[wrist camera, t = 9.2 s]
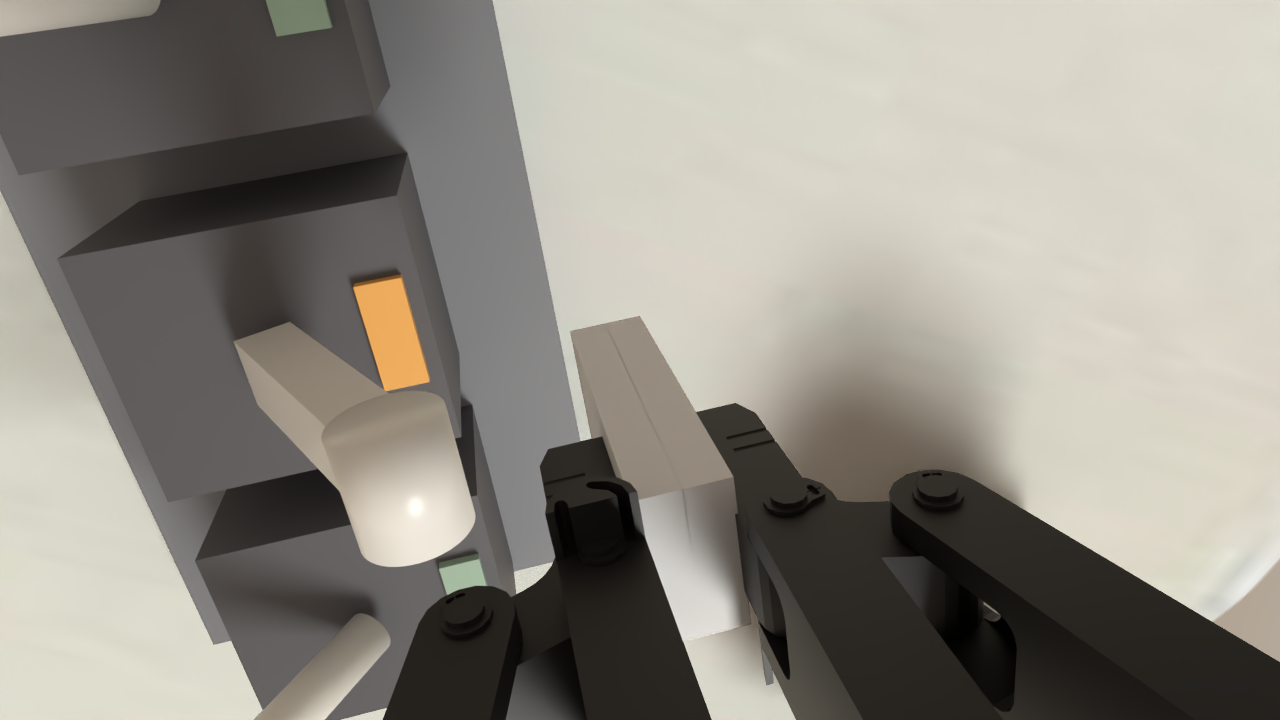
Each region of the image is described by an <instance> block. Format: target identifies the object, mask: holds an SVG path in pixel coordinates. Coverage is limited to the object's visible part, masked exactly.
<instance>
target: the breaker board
mask: <svg viewBox="0 0 1280 720" xmlns="http://www.w3.org/2000/svg"><path fill="white" fill-rule="evenodd" d="M0 190H1V193H2V195H3V197H4V199H5V201H6V203H7V205H8V207H9V210H10V212H11V214H12V216H13V218H14V220H15V222H16V224H17V227H18V229H19V231H20V233H21V235H22V237H23V239H24V242H25V244H26V246H27V248H28V250H29V252H30V254H31V256H32V259H33V261H34V263H35V265H36V267H37V269H38V271H39V273H40V276H41V278H42V280H43V282H44V284H45V286H46V288H47V291H48V293H49V295H50V297H51V299H52V301H53V303H54V305H55V308H56V310H57V312H58V314H59V316H60V318H61V320H62V322H63V325H64V327H65V329H66V331H67V333H68V335H69V337H70V340H71V342H72V344H73V346H74V348H75V350H76V352H77V354H78V357H79V359H80V361H81V363H82V365H83V367H84V369H85V372H86V374H87V376H88V378H89V380H90V382H91V384H92V386H93V389H94V391H95V393H96V395H97V397H98V399H99V401H100V403H101V406H102V408H103V410H104V412H105V414H106V416H107V418H108V421H109V423H110V425H111V427H112V429H113V431H114V433H115V435H116V438H117V440H118V442H119V444H120V446H121V448H122V450H123V452H124V455H125V457H126V459H127V461H128V463H129V465H130V467H131V470H132V472H133V474H134V476H135V478H136V480H137V482H138V484H139V487H140V489H141V491H142V493H143V495H144V497H145V499H146V501H147V504H148V506H149V508H150V510H151V512H152V514H153V516H154V519H155V521H156V523H157V525H158V527H159V529H160V531H161V533H162V536H163V538H164V540H165V542H166V544H167V546H168V548H169V550H170V553H171V555H172V557H173V559H174V561H175V563H176V565H177V568H178V570H179V572H180V574H181V576H182V578H183V580H184V582H185V585H186V587H187V589H188V591H189V593H190V595H191V597H192V599H193V602H194V604H195V606H196V608H197V610H198V612H199V614H200V617H201V619H202V621H203V623H204V625H205V627H206V629H207V631H208V634H209V636H210V638H211V640H212V642H213V644H219V643H223V642H227V641H232V643H233V646H234V648H235V650H236V652H237V654H238V656H239V659H240V661H241V663H242V665H243V667H244V670H245V672H246V674H247V676H248V678H249V681H250V683H251V685H252V687H253V689H254V692H255V694H256V696H257V698H258V700H259V702H260V705H261V707H262V709H263V711H262V712H261V713H260V714H259V715H258V716H257V717H256V718H255V719H254V720H341V719H345V718H349V717H353V716H357V715H360V714H364V713H368V712H372V711H376V710H380V709H384V708H387V707H388V705H389V702H390V699H391V696H392V694H393V691H394V688H395V686H396V683H397V680H398V678H399V675H400V672H401V670H402V667H403V664H404V662H405V659H406V656H407V654H408V651H409V648H410V645H411V643H412V640H413V637H414V635H415V632H416V629H417V627H418V624H419V622H420V620H421V619H422V617H423V616H424V614H425V612H426V611H427V610H428V609H429V608H430V607H431V606H432V605H433V604H435V603H436V602H437V601H438V600H439V599H441V598H442V597H444V596H446V595H448V594H450V593H453V592H455V591H457V590H459V589H464V588H468V587H472V586H494V587H496V588H499V589H501V590H504V591H506V592H507V593H508V594H509V596H510V597H512V596H514V595H516V588H515V579H514V571H517V570H522V569H526V568H530V567H534V566H538V565H542V564H546V563H550V562H553V561H554V559H555V554H554V550H553V545H552V541H551V537H550V533H549V528H548V524H547V520H546V516H545V511H546V505H547V503H546V497H545V492H544V487H543V482H542V477H541V471H540V464H541V462H542V460H543V458H544V456H545V454H546V452H547V450H548V449H551V448H555V447H559V446H563V445H568V444H572V443H576V442H580V437H579V432H578V427H577V422H576V417H575V412H574V407H573V402H572V397H571V392H570V387H569V382H568V377H567V372H566V367H565V362H564V357H563V352H562V347H561V342H560V337H559V332H558V327H557V322H556V317H555V312H554V307H553V302H552V297H551V292H550V287H549V282H548V277H547V272H546V267H545V262H544V257H543V252H542V247H541V242H540V237H539V232H538V227H537V222H536V217H535V212H534V207H533V202H532V197H531V192H530V187H529V182H528V177H527V172H526V167H525V162H524V157H523V152H522V147H521V142H520V137H519V132H518V127H517V122H516V117H515V112H514V107H513V102H512V97H511V92H510V87H509V82H508V77H507V72H506V67H505V62H504V57H503V52H502V47H501V42H500V37H499V32H498V27H497V22H496V17H495V12H494V7H493V2H492V0H0ZM288 322H291V323H292V324H293V325H295V326H296V327H298V328H299V329H300V330H302V331H303V332H305V333H306V334H307V335H309V336H310V337H311V338H313V339H314V340H316V341H317V342H318V343H320V344H321V345H322V346H324V347H325V348H327V349H328V350H329V351H331V352H332V353H334V354H335V355H336V356H338V357H339V358H340V359H342V360H343V361H345V362H346V363H347V364H349V365H350V366H351V367H353V368H354V369H356V370H357V371H358V372H360V373H361V374H363V375H364V376H365V377H367V378H368V379H369V380H371V381H372V382H374V383H375V384H376V385H378V386H379V387H380V388H382V389H383V390H385V391H386V392H387V393H389V394H390V393H395V392H403V391H425V392H430V393H433V394H436V395H438V396H440V397H441V398H442V399H443V400H444V402H445V404H446V408H447V412H448V415H449V419H450V423H451V426H452V430H453V434H454V437H455V441H456V445H457V448H458V452H459V456H460V459H461V463H462V467H463V470H464V474H465V478H466V481H467V485H468V489H469V492H470V496H471V500H472V503H473V507H474V511H475V522H474V525H473V527H472V529H471V531H470V532H469V534H468V535H467V536H466V537H465V538H464V539H463V540H462V541H461V542H460V543H459V544H458V545H456V546H455V547H454V548H452V549H451V550H449V551H447V552H446V553H444V554H442V555H440V556H438V557H436V558H433V559H431V560H428V561H425V562H422V563H419V564H414V565H409V566H402V567H386V566H380V565H376V564H374V563H371V562H370V561H368V560H367V559H365V558H364V557H363V555H362V554H361V551H360V548H359V545H358V542H357V540H356V537H355V534H354V531H353V528H352V525H351V523H350V520H349V517H348V514H347V511H346V508H345V505H344V503H343V500H342V497H341V494H340V491H339V490H338V489H337V488H336V487H335V486H334V485H333V484H332V483H331V482H330V481H329V480H328V479H327V478H326V477H325V475H324V474H323V473H322V472H321V471H320V470H319V469H318V468H317V467H316V466H315V465H314V464H313V463H312V462H311V461H310V460H309V459H308V458H307V457H306V455H305V454H304V453H303V452H302V451H301V450H300V449H299V448H298V447H297V446H296V445H295V444H294V443H293V442H292V441H291V440H290V439H289V438H288V436H287V435H286V434H285V433H284V432H283V431H282V430H281V429H280V428H279V427H278V426H277V425H276V424H275V423H274V422H273V421H272V420H271V419H270V418H269V416H268V415H267V414H266V413H265V412H264V411H263V410H262V409H261V408H260V407H259V406H258V404H257V402H256V399H255V397H254V394H253V391H252V389H251V386H250V383H249V381H248V378H247V375H246V373H245V370H244V368H243V365H242V362H241V360H240V357H239V354H238V352H237V349H236V347H235V344H234V341H236V340H239V339H242V338H245V337H247V336H250V335H253V334H256V333H259V332H262V331H265V330H268V329H270V328H273V327H276V326H279V325H282V324H285V323H288Z"/></svg>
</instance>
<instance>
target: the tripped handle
mask: <svg viewBox="0 0 1280 720" xmlns="http://www.w3.org/2000/svg"><path fill="white" fill-rule="evenodd" d="M234 344H235V347H236V349H237V352H238V354H239V357H240V360H241V362H242V365H243V368H244V370H245V373H246V375H247V378H248V381H249V383H250V386H251V389H252V391H253V394H254V397H255V399H256V402H257V404H258V406H259V407H260V408H261V409H262V410H263V411H264V412H265V413H266V414H267V415H268V416H269V418H270V419H271V420H272V421H273V422H274V423H275V424H276V425H277V426H278V427H279V428H280V429H281V430H282V431H283V432H284V433H285V434H286V435H287V436H288V438H289V439H290V440H291V441H292V442H293V443H294V444H295V445H296V446H297V447H298V448H299V449H300V450H301V451H302V452H303V453H304V454H305V455H306V457H307V458H308V459H309V460H310V461H311V462H312V463H313V464H314V465H315V466H316V467H317V468H318V469H319V470H320V471H321V472H322V473H323V474H324V475H325V477H326V478H327V479H328V480H329V481H330V482H331V483H332V484H333V485H334V486H335V487H336V488H337V489H338V490H339V491H340V494H341V497H342V500H343V503H344V505H345V508H346V511H347V514H348V517H349V520H350V523H351V525H352V528H353V531H354V534H355V537H356V540H357V542H358V545H359V548H360V551H361V554H362V555H363V557H364V558H365V559H367V560H368V561H370V562H371V563H374V564H376V565H380V566H386V567H402V566H409V565H414V564H419V563H422V562H425V561H428V560H431V559H433V558H436V557H438V556H440V555H442V554H444V553H446V552H447V551H449V550H451V549H452V548H454V547H455V546H456V545H458V544H459V543H460V542H461V541H462V540H463V539H464V538H465V537H466V536H467V535H468V534H469V532H470V531H471V529H472V527H473V525H474V522H475V511H474V507H473V503H472V500H471V496H470V492H469V489H468V485H467V481H466V478H465V474H464V470H463V467H462V463H461V459H460V456H459V452H458V448H457V445H456V441H455V437H454V434H453V430H452V426H451V423H450V419H449V415H448V412H447V408H446V404H445V402H444V400H443V399H442V398H441V397H440V396H438V395H436V394H433V393H430V392H425V391H403V392H395V393H390V394H389V393H387V392H386V391H385V390H383V389H382V388H380V387H379V386H378V385H376V384H375V383H374V382H372V381H371V380H369V379H368V378H367V377H365V376H364V375H363V374H361V373H360V372H358V371H357V370H356V369H354V368H353V367H351V366H350V365H349V364H347V363H346V362H345V361H343V360H342V359H340V358H339V357H338V356H336V355H335V354H334V353H332V352H331V351H329V350H328V349H327V348H325V347H324V346H322V345H321V344H320V343H318V342H317V341H316V340H314V339H313V338H311V337H310V336H309V335H307V334H306V333H305V332H303V331H302V330H300V329H299V328H298V327H296V326H295V325H293V324H292V323H291V322H288V323H285V324H282V325H279V326H276V327H273V328H270V329H268V330H265V331H262V332H259V333H256V334H253V335H250V336H247V337H245V338H242V339H239V340H236V341H234Z"/></svg>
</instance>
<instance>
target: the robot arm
mask: <svg viewBox="0 0 1280 720" xmlns="http://www.w3.org/2000/svg"><path fill="white" fill-rule="evenodd" d="M570 333H571V338H572V343H573V348H574V353H575V358H576V363H577V368H578V373H579V378H580V383H581V388H582V393H583V398H584V403H585V408H586V413H587V418H588V423H589V428H590V433H591V438H592V439H589V440H585V441H580V442H576V443H572V444H568V445H563V446H559V447H555V448H551V449H548V450H547V452H546V454H545V456H544V458H543V460H542V462H541V464H540V471H541V477H542V482H543V487H544V492H545V497H546V503H547V505H546V511H545V516H546V520H547V524H548V528H549V533H550V537H551V541H552V545H553V550H554V554H555V559H554V561H553V564H552V566H551V568H550V569H549V570H548V572H547V573H546V574H545V575H544V576H543V577H542V578H541V579H540V580H539V581H538V582H537V583H535V584H534V585H532V586H531V587H529V588H527V589H526V590H524V591H522V592H520V593H518V594H516V595H514V596H512V597H510V596H509V594H508V593H507V592H506V591H504V590H501V589H499V588H496V587H494V586H472V587H468V588H464V589H459V590H457V591H455V592H453V593H450V594H448V595H446V596H444V597H442V598H441V599H439V600H438V601H437V602H436V603H435V604H433V605H432V606H431V607H430V608H429V609H428V610H427V611H426V612H425V614H424V616H423V617H422V619H421V620H420V622H419V624H418V627H417V629H416V632H415V635H414V637H413V640H412V643H411V645H410V648H409V651H408V654H407V656H406V659H405V662H404V664H403V667H402V670H401V672H400V675H399V678H398V680H397V683H396V686H395V688H394V691H393V694H392V696H391V699H390V702H389V705H388V707H387V710H386V713H385V715H384V718H383V720H711V717H710V714H709V712H708V709H707V706H706V703H705V701H704V698H703V695H702V692H701V690H700V687H699V684H698V681H697V679H696V676H695V673H694V670H693V668H692V665H691V662H690V659H689V657H688V654H687V651H686V648H685V646H684V643H683V642H686V641H689V640H693V639H697V638H701V637H704V636H708V635H712V634H716V633H719V632H723V631H727V630H730V629H734V628H738V627H742V626H745V625H749V624H751V618H750V610H749V601H750V603H751V605H752V607H753V609H754V611H755V613H756V615H757V617H758V623H759V632H760V640H761V649H762V658H763V666H764V674H765V680H766V685H769V684H773V674H772V670H773V672H774V674H775V676H776V678H777V680H778V682H779V684H780V686H781V689H782V691H783V693H784V695H785V697H786V699H787V701H788V703H789V706H790V708H791V710H792V712H793V714H794V716H795V718H796V720H1280V662H1279V661H1277V660H1275V659H1273V658H1272V657H1270V656H1269V655H1267V654H1265V653H1263V652H1261V651H1260V650H1258V649H1257V648H1255V647H1253V646H1252V645H1250V644H1248V643H1247V642H1245V641H1243V640H1242V639H1240V638H1238V637H1236V636H1235V635H1233V634H1231V633H1230V632H1228V631H1226V630H1225V629H1223V628H1221V627H1220V626H1218V625H1216V624H1215V623H1213V622H1211V621H1210V620H1208V619H1206V618H1205V617H1203V616H1201V615H1200V614H1198V613H1196V612H1195V611H1193V610H1191V609H1190V608H1188V607H1186V606H1185V605H1183V604H1181V603H1180V602H1178V601H1176V600H1174V599H1173V598H1171V597H1169V596H1168V595H1166V594H1164V593H1163V592H1161V591H1159V590H1158V589H1156V588H1154V587H1153V586H1151V585H1149V584H1148V583H1146V582H1144V581H1143V580H1141V579H1139V578H1138V577H1136V576H1134V575H1133V574H1131V573H1129V572H1127V571H1126V570H1124V569H1122V568H1121V567H1119V566H1117V565H1116V564H1114V563H1112V562H1111V561H1109V560H1107V559H1106V558H1104V557H1102V556H1101V555H1099V554H1097V553H1096V552H1094V551H1092V550H1091V549H1089V548H1087V547H1086V546H1084V545H1082V544H1080V543H1079V542H1077V541H1075V540H1074V539H1072V538H1070V537H1069V536H1067V535H1065V534H1064V533H1062V532H1060V531H1059V530H1057V529H1055V528H1054V527H1052V526H1050V525H1049V524H1047V523H1045V522H1044V521H1042V520H1040V519H1039V518H1037V517H1035V516H1033V515H1032V514H1030V513H1028V512H1027V511H1025V510H1023V509H1022V508H1020V507H1018V506H1017V505H1015V504H1013V503H1012V502H1010V501H1008V500H1007V499H1005V498H1003V497H1002V496H1000V495H998V494H997V493H995V492H993V491H992V490H990V489H988V488H986V487H985V486H983V485H981V484H980V483H978V482H976V481H975V480H973V479H971V478H968V477H966V476H964V475H961V474H959V473H955V472H949V471H943V470H923V471H918V472H915V473H911V474H907V475H905V476H903V477H902V478H900V479H899V480H897V481H896V482H895V483H894V484H893V486H892V488H891V490H890V501H889V502H862V503H861V502H844V501H839V500H837V498H836V497H835V496H834V494H833V493H832V492H831V491H830V490H829V489H828V488H826V487H825V486H824V485H823V484H822V483H819V482H816V481H813V480H811V479H808V478H802V477H801V475H800V474H799V473H798V471H797V470H796V469H795V467H794V466H793V464H792V463H791V462H790V460H789V459H788V457H787V456H786V455H785V453H784V452H783V451H782V449H781V448H780V446H779V445H778V444H777V442H775V441H774V438H773V437H772V435H771V434H770V433H769V431H768V430H766V427H765V426H764V424H763V423H762V421H761V420H760V419H759V417H758V416H757V415H756V413H754V412H752V411H750V410H748V409H746V408H744V407H742V406H740V405H739V404H737V403H734V404H730V405H725V406H721V407H717V408H712V409H708V410H704V411H700V412H695V410H694V408H693V406H692V405H691V403H690V401H689V400H688V398H687V396H686V394H685V393H684V391H683V389H682V388H681V386H680V384H679V382H678V381H677V379H676V377H675V376H674V374H673V372H672V370H671V369H670V367H669V365H668V364H667V362H666V360H665V358H664V357H663V355H662V353H661V352H660V350H659V348H658V346H657V345H656V343H655V341H654V340H653V338H652V336H651V334H650V333H649V331H648V329H647V328H646V326H645V324H644V322H643V321H642V319H641V317H640V316H638V317H633V318H629V319H624V320H619V321H615V322H610V323H606V324H601V325H596V326H592V327H587V328H583V329H578V330H573V331H570ZM748 599H749V601H748ZM984 602H985V603H986V604H987V605H989V606H990V607H991V608H993V609H994V610H995V611H996V612H998V613H999V614H1000V615H999V614H998V613H996V612H994V611H992V610H991V609H990V608H988V607H987V606H986V605H984Z"/></svg>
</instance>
